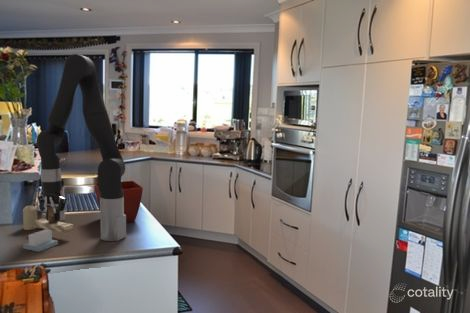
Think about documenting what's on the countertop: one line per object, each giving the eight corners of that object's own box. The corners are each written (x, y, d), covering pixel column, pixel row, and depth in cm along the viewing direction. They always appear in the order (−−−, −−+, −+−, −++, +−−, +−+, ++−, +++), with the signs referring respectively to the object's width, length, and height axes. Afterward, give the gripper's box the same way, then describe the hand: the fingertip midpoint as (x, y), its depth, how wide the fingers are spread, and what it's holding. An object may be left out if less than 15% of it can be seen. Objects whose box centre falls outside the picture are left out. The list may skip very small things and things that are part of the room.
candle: (36, 229, 171) (35, 207, 170) (22, 230, 170) (21, 207, 169) (38, 226, 177) (38, 204, 175) (25, 226, 175) (24, 204, 174)
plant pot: (101, 227, 177) (100, 190, 175) (94, 217, 194) (93, 183, 192) (143, 222, 186) (143, 187, 184) (133, 213, 203) (133, 180, 201)
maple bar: (73, 230, 161) (72, 208, 160) (65, 232, 157) (64, 210, 156) (42, 224, 169) (41, 203, 167) (34, 226, 165) (33, 205, 164)
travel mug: (60, 218, 189) (59, 177, 187) (67, 221, 185) (66, 179, 183) (47, 221, 184) (46, 179, 182) (54, 224, 180) (53, 180, 178)
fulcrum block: (58, 244, 154) (57, 230, 153) (38, 251, 146) (38, 237, 145) (42, 241, 157) (42, 227, 156) (23, 248, 148) (22, 234, 148)
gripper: (71, 179, 161) (73, 220, 163) (45, 176, 167) (47, 216, 169) (57, 182, 155) (59, 225, 156) (30, 179, 160) (32, 221, 162)
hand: (53, 220), depth 163 cm, fingers closed on maple bar, 3 cm apart
